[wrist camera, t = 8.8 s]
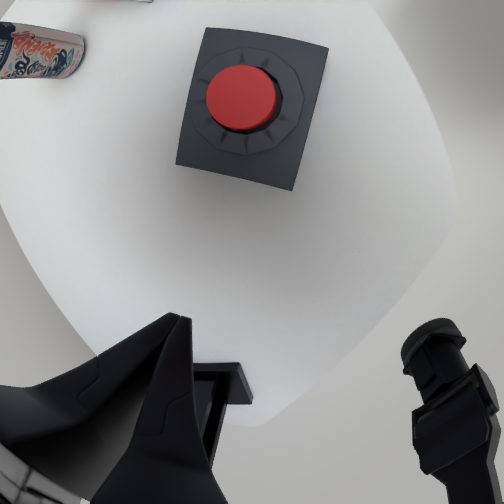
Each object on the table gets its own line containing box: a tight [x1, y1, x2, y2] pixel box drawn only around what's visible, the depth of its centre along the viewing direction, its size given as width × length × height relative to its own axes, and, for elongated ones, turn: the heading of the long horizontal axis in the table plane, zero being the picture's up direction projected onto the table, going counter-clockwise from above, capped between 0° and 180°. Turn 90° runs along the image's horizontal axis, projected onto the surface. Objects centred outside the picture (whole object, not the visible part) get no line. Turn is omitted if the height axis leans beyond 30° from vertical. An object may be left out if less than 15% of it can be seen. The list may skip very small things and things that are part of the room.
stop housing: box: [175, 27, 329, 191], centre depth 15 cm, size 10×8×4 cm
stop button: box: [206, 65, 277, 129], centre depth 13 cm, size 4×4×2 cm
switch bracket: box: [193, 363, 253, 469], centre depth 25 cm, size 10×7×12 cm
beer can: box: [0, 22, 84, 79], centre depth 11 cm, size 5×5×12 cm
